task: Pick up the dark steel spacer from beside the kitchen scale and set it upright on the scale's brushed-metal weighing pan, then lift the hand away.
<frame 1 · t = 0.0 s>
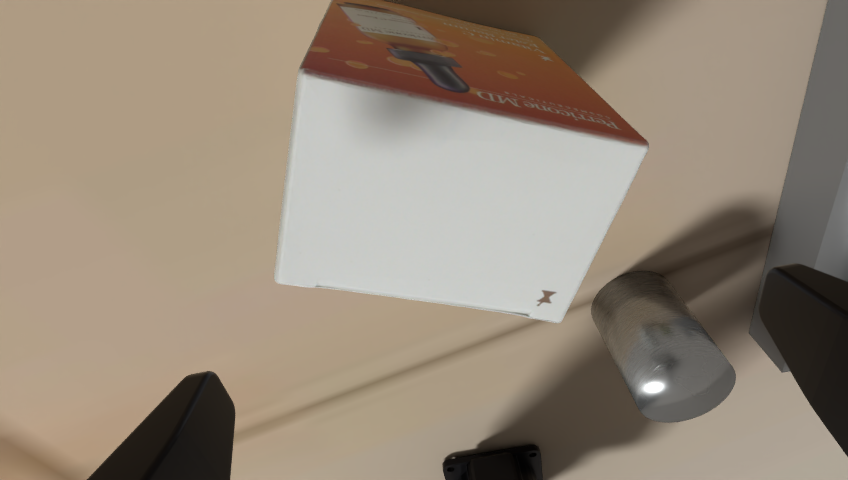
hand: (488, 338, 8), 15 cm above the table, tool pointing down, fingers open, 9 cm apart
small box: (422, 82, 21), on the table
steel spacer: (631, 303, 28), on the table
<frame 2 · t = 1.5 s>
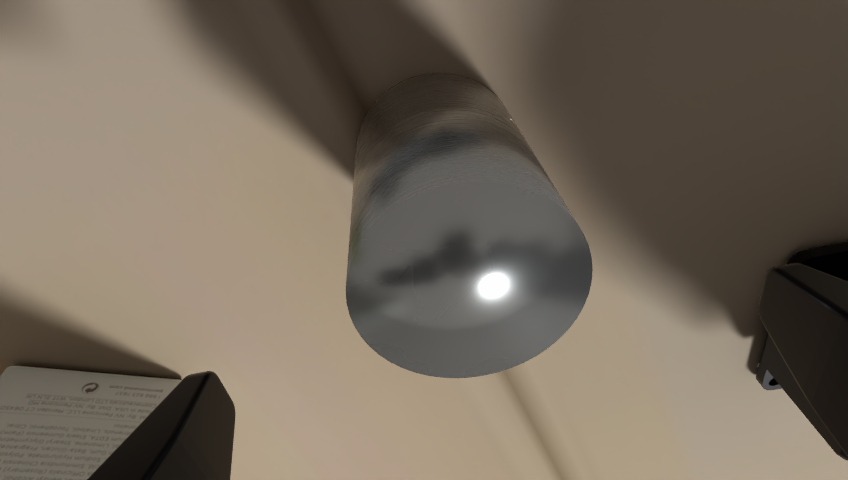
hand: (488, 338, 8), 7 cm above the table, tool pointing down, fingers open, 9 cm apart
small box: (113, 435, 20), on the table
steel spacer: (436, 154, 14), on the table
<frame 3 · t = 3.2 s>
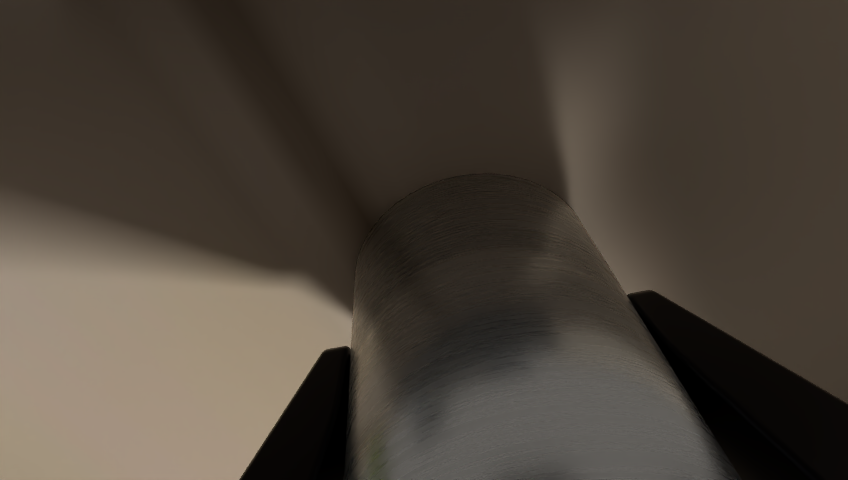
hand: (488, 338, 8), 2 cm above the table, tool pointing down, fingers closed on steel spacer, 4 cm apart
steel spacer: (473, 280, 10), on the table, touching gripper
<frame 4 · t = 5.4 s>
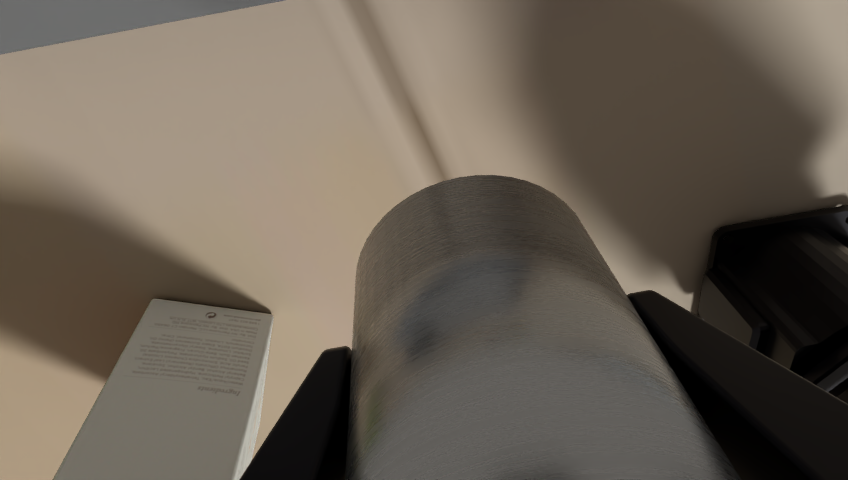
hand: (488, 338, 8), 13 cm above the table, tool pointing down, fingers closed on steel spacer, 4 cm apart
small box: (213, 359, 27), on the table
steel spacer: (474, 281, 10), point 12 cm above the table, touching gripper
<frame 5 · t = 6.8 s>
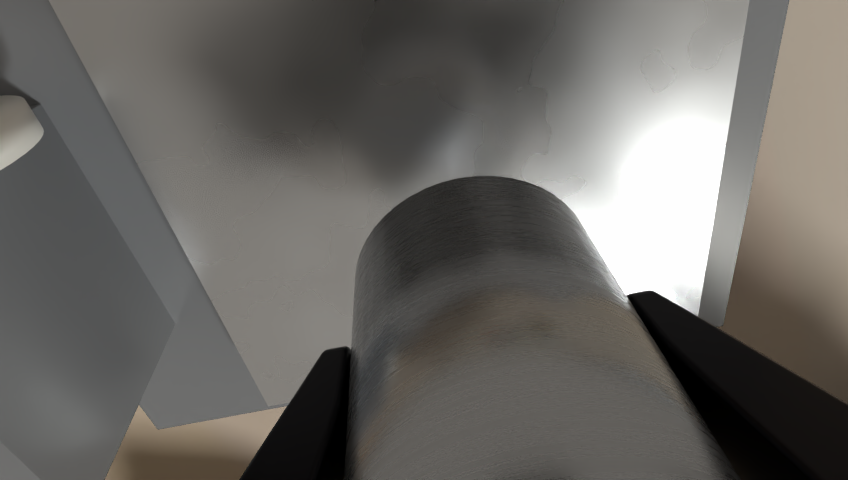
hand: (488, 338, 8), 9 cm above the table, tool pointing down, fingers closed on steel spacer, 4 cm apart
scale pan: (447, 185, 13), point 4 cm above the table, slide at -0.4 cm
scale: (384, 132, 16), on the table
steel spacer: (473, 282, 10), point 8 cm above the table, touching gripper
when the fingers open (8 cm above the table, at t = 7.8 s): steel spacer drops 2 cm, resting on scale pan.
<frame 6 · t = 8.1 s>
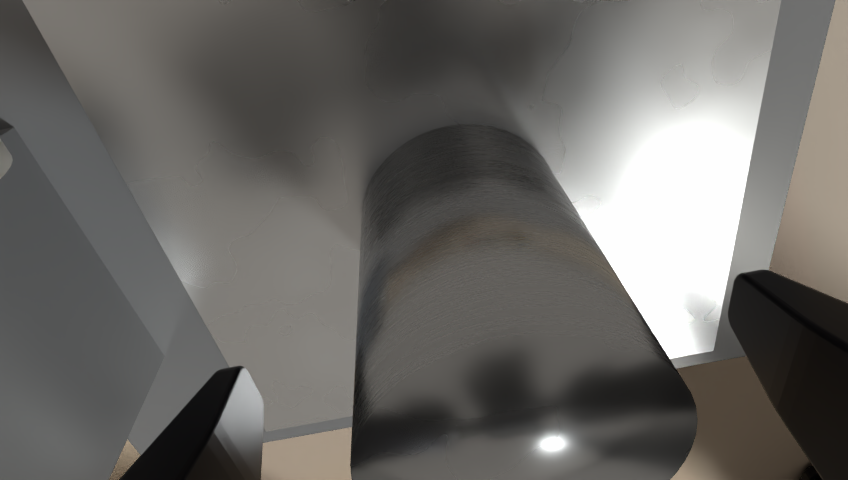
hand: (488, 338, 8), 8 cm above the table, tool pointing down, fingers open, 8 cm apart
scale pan: (454, 205, 12), point 4 cm above the table, slide at -0.8 cm, touching steel spacer
scale: (387, 151, 15), on the table
steel spacer: (460, 218, 12), point 4 cm above the table, touching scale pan
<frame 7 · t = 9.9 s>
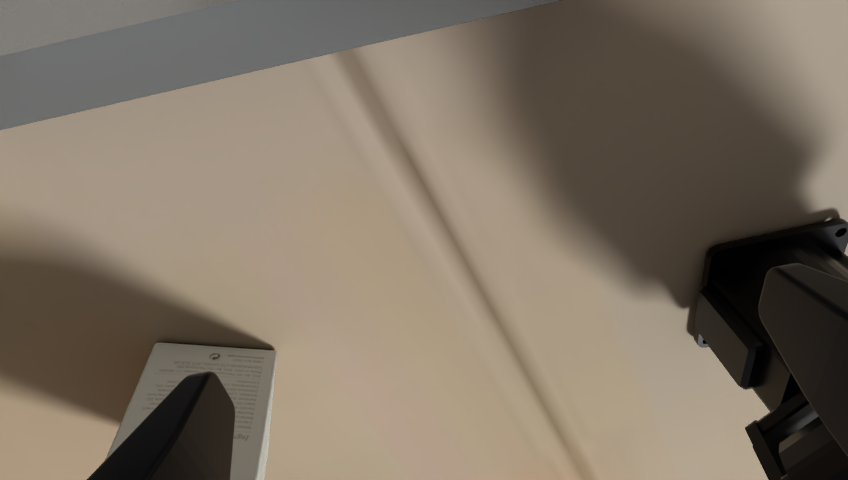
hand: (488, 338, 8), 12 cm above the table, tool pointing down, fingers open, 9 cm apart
small box: (219, 394, 27), on the table
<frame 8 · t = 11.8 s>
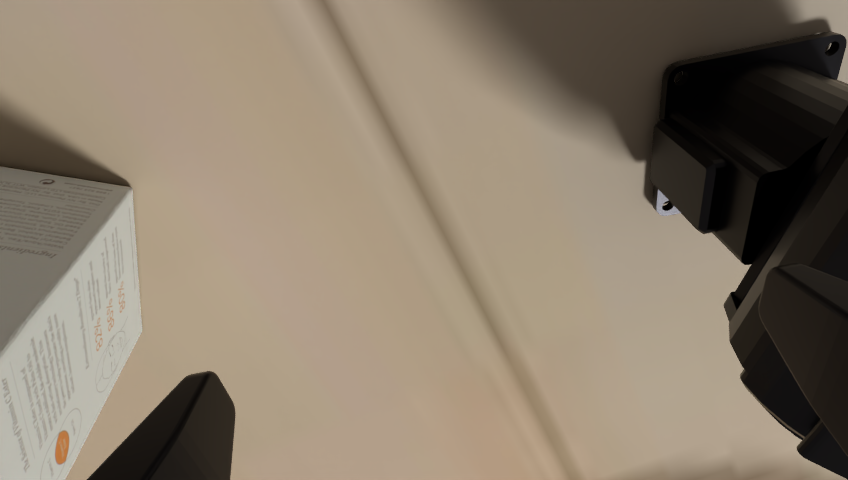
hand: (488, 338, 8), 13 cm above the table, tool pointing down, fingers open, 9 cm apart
small box: (73, 252, 22), on the table
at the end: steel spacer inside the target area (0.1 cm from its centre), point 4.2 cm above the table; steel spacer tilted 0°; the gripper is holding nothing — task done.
